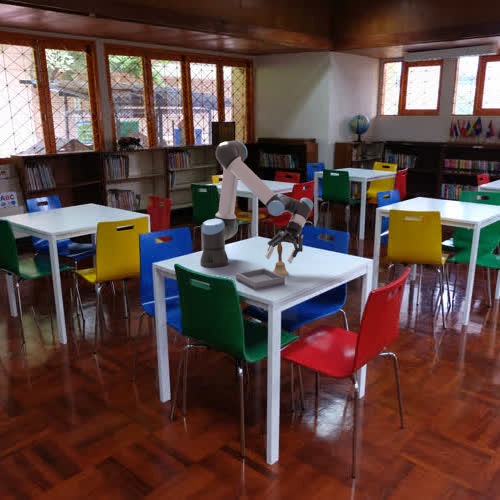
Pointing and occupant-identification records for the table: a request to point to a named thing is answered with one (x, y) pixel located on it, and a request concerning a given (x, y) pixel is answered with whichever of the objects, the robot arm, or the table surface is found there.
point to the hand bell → (280, 262)
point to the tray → (260, 278)
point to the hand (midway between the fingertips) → (278, 259)
